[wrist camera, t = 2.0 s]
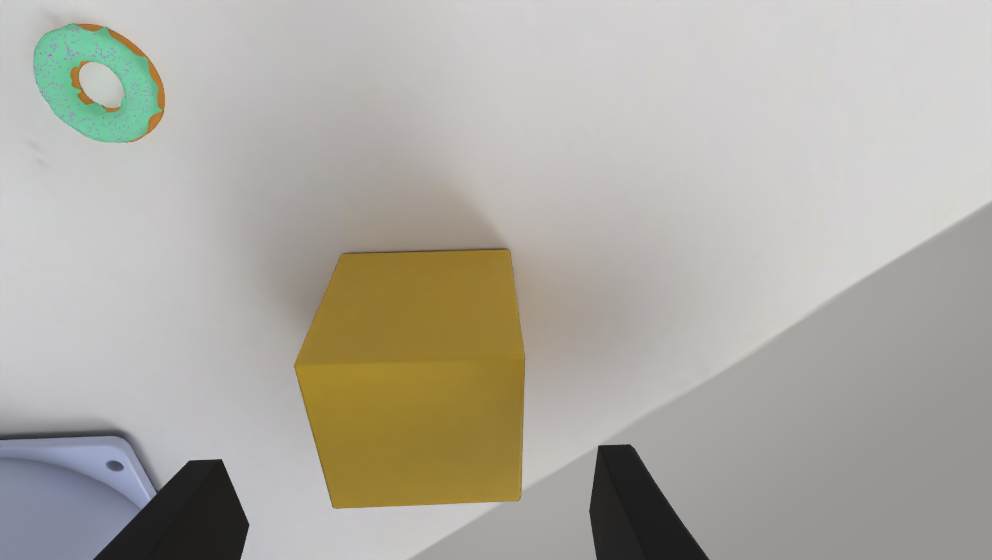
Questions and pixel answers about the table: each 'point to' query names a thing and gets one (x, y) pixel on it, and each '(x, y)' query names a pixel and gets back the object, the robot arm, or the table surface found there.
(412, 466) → the block
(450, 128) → the table surface
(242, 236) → the table surface
